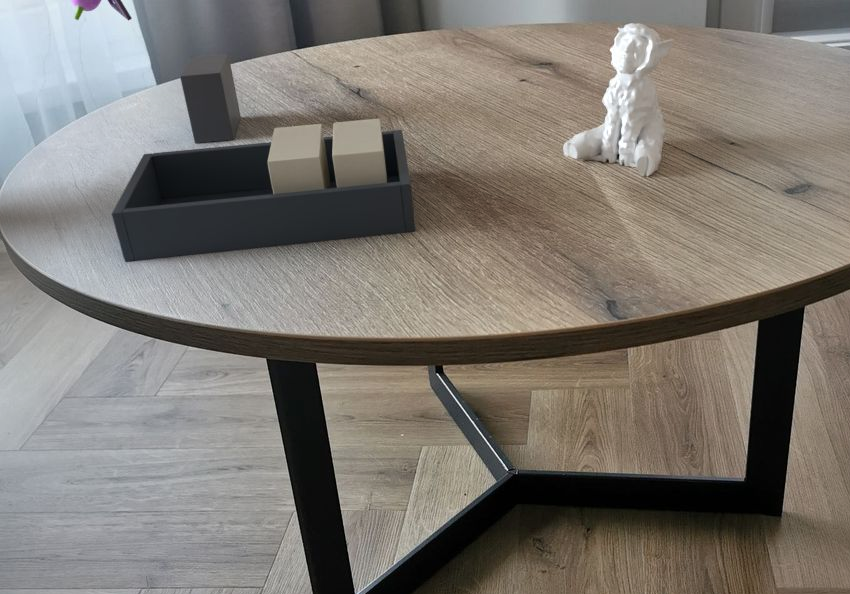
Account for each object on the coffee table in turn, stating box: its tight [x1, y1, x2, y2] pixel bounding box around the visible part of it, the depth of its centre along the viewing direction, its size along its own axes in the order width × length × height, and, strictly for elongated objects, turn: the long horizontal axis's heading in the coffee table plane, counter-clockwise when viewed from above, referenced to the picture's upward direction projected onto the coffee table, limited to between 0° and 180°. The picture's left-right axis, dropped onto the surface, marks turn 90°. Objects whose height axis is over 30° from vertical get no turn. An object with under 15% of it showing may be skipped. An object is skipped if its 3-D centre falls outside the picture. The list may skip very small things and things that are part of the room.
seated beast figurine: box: [562, 22, 675, 177], centre depth 87 cm, size 10×9×12 cm
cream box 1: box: [268, 123, 331, 194], centre depth 80 cm, size 4×8×6 cm, turn 8°
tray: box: [111, 129, 416, 263], centre depth 80 cm, size 23×14×5 cm, turn 98°
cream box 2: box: [332, 118, 388, 188], centre depth 80 cm, size 4×8×6 cm, turn 8°
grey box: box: [179, 53, 242, 144], centre depth 102 cm, size 4×8×7 cm, turn 8°
